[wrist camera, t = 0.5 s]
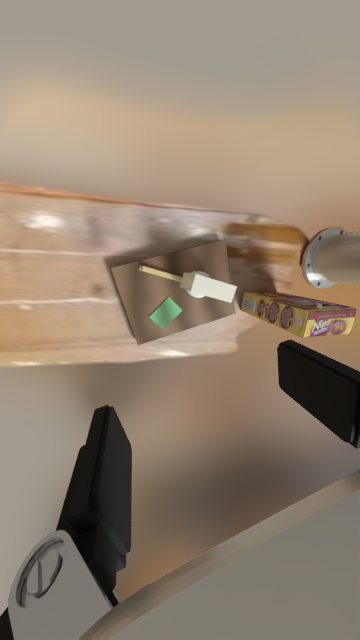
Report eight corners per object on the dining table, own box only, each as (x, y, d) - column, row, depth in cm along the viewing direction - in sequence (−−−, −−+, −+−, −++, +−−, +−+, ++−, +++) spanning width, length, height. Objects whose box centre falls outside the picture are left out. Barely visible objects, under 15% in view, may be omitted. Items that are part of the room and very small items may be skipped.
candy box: (239, 312, 39) (302, 338, 24) (242, 292, 37) (309, 307, 23) (274, 310, 41) (350, 334, 27) (278, 291, 40) (359, 306, 25)
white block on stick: (215, 276, 33) (239, 279, 25) (207, 299, 33) (229, 309, 26) (145, 254, 29) (150, 250, 21) (139, 281, 30) (141, 287, 22)
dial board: (220, 240, 33) (225, 239, 31) (230, 311, 38) (236, 313, 36) (111, 267, 30) (110, 268, 28) (137, 340, 35) (138, 345, 33)
